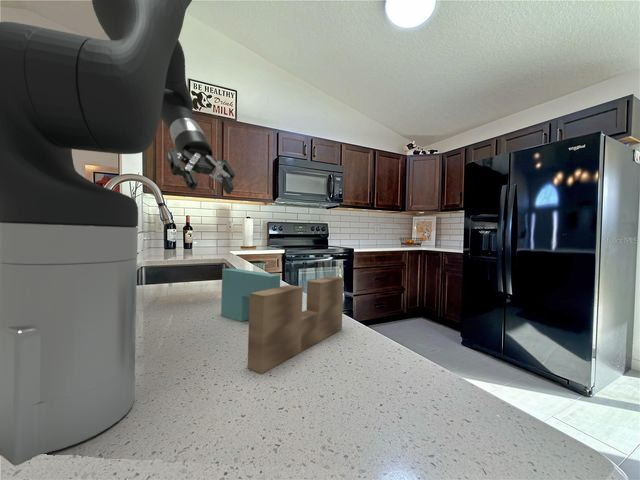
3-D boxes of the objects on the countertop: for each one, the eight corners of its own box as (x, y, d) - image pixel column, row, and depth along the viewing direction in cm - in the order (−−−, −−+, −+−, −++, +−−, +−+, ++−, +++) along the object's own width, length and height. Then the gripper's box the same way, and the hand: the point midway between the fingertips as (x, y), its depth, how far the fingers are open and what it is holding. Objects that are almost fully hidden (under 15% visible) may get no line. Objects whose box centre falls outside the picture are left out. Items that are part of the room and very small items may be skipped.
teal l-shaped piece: (221, 315, 56) (222, 269, 55) (231, 312, 58) (232, 268, 57) (269, 330, 48) (270, 276, 48) (278, 326, 50) (280, 275, 50)
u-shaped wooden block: (261, 374, 33) (263, 296, 33) (247, 367, 34) (249, 293, 34) (341, 329, 50) (343, 277, 49) (330, 326, 51) (331, 276, 51)
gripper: (163, 120, 59) (186, 172, 53) (223, 137, 70) (247, 181, 64) (154, 147, 63) (174, 198, 57) (212, 159, 74) (234, 203, 68)
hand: (213, 189), depth 61 cm, fingers open, 8 cm apart
